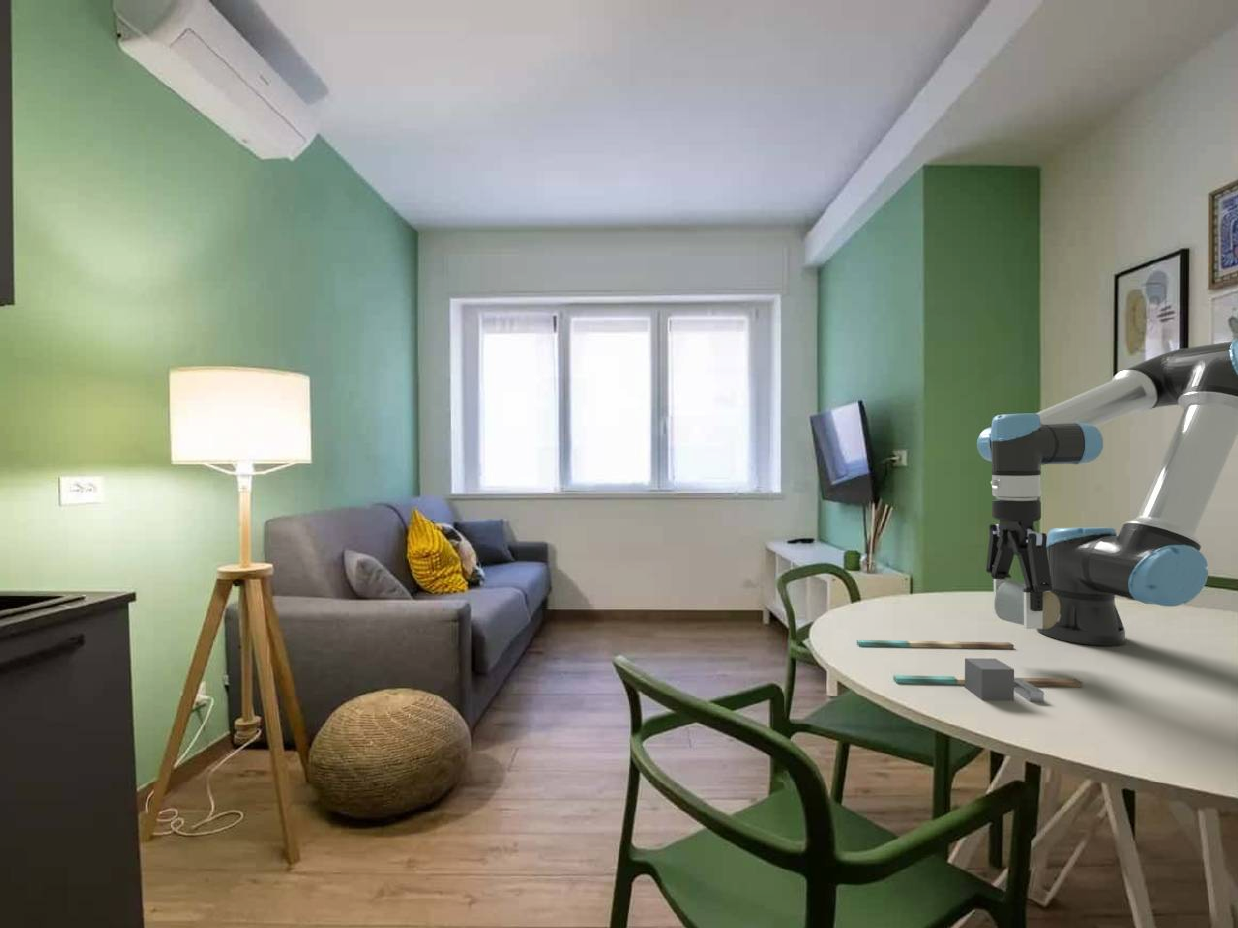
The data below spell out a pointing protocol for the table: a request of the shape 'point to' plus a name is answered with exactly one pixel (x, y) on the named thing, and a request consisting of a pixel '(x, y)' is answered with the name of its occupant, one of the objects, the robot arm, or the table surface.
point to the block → (989, 679)
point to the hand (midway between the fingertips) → (1017, 620)
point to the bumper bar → (1028, 690)
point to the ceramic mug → (1012, 604)
